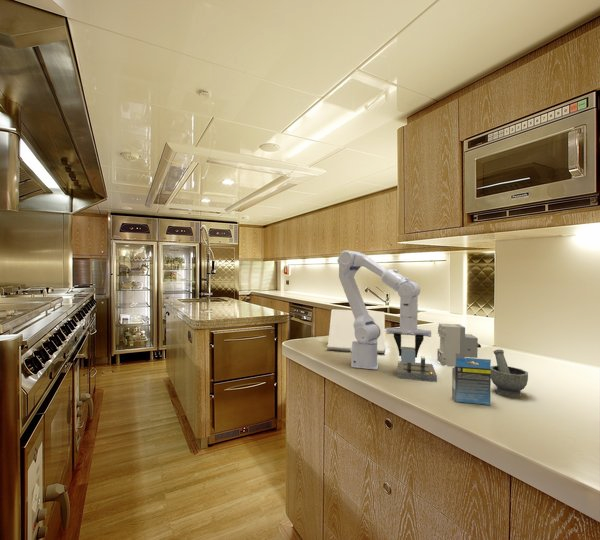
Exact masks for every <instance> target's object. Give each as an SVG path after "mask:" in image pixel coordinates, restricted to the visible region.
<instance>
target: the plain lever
mask: <svg viewBox="0 0 600 540" xmlns="http://www.w3.org/2000/svg"><path fill="white" fill-rule="evenodd" d="M420 363H421V366H425V364H426V357H425V356H423V355H421V356H420Z"/></svg>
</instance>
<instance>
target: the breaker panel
mask: <svg viewBox="0 0 600 540" xmlns="http://www.w3.org/2000/svg"><path fill="white" fill-rule="evenodd" d="M435 370H436V369H435V367H434V365H433V364H432V363H425V366H421V362H415V363H411V370H407V363H406V362H401V360H397V378H398V377H399V378H398V379H405V378H408V380H415V379H417V380H418V381H424V380H426V381H425V382H433V381H435V382H434V383H437V382H438V375H437V373H436V371H435ZM417 380H416V381H417Z"/></svg>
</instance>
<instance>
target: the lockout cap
mask: <svg viewBox="0 0 600 540" xmlns="http://www.w3.org/2000/svg"><path fill="white" fill-rule="evenodd" d="M400 361H401V362H406V363H416V358H415V346H414V347H413V346H401V356H400Z"/></svg>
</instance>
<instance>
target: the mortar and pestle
mask: <svg viewBox="0 0 600 540" xmlns="http://www.w3.org/2000/svg"><path fill="white" fill-rule="evenodd" d="M504 353H505V351H504V350H503V349H495V350H493V354H494V355H495V360H496V365H490V369H491V381H492V383H493V385H494V386H495V387H496V390H495V391H496V393H497V394H498V395H501V396H503V397H507V398H516V399H517V398H520V397H521V391H522V390H524V389H525V388H526V386H527V385H528V380H529V371H526V370H524V369H521V368H518V367H513V366H508V362H507V360H506V358H505V355H504Z"/></svg>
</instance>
